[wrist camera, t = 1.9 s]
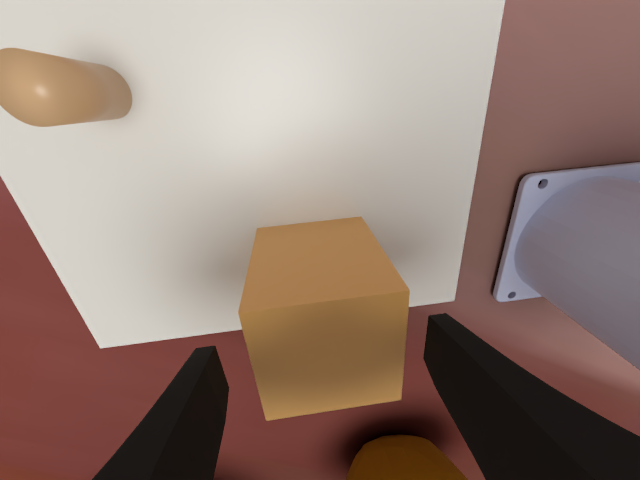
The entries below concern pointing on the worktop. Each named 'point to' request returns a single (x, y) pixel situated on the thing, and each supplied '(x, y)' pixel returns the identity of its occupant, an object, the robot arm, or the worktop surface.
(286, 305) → the wooden toy cube
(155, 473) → the robot arm
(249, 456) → the worktop surface
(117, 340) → the plate
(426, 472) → the apple
